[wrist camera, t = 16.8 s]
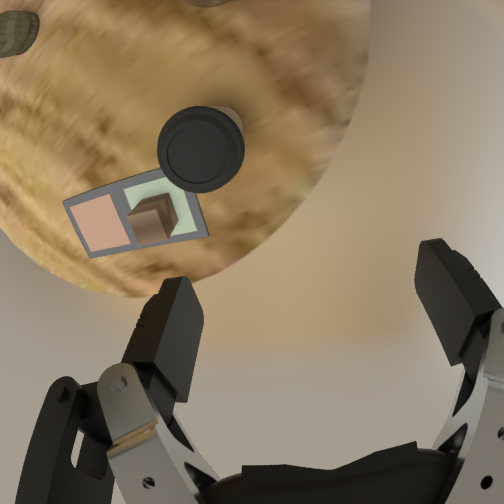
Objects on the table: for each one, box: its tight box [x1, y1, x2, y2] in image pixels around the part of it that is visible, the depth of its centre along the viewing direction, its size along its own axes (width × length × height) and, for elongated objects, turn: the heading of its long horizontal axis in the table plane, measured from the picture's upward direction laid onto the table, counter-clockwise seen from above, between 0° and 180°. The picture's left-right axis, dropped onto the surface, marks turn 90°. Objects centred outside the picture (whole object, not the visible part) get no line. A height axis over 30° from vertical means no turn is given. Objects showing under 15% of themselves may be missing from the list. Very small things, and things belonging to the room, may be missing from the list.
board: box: [62, 168, 209, 259], centre depth 45 cm, size 13×26×1 cm, turn 102°
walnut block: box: [127, 192, 179, 245], centre depth 42 cm, size 5×5×6 cm
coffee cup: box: [157, 105, 245, 193], centre depth 31 cm, size 9×9×15 cm
